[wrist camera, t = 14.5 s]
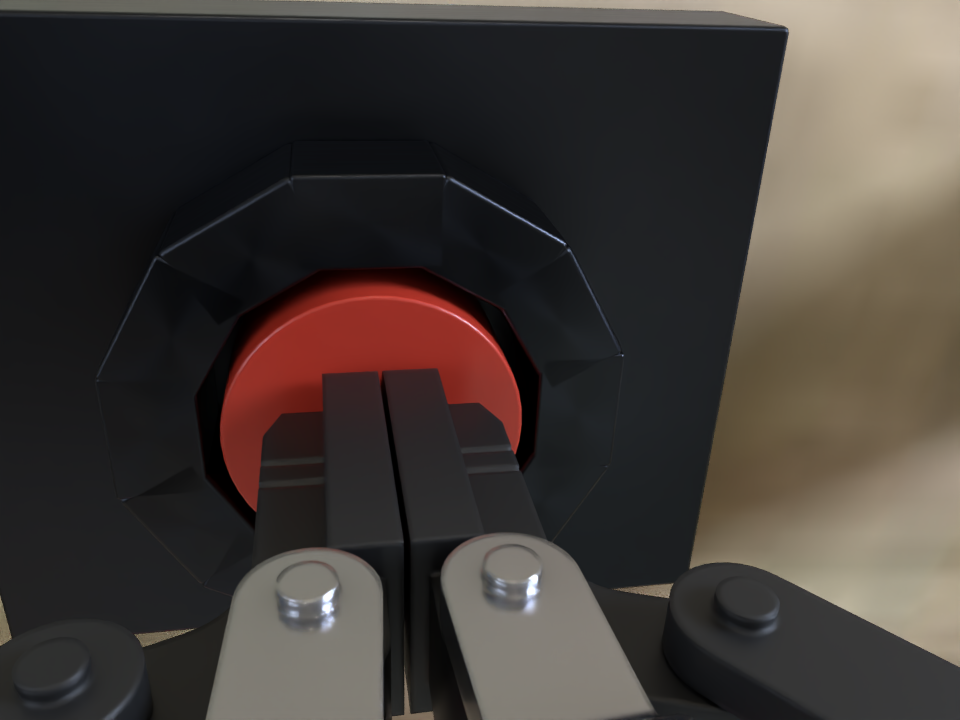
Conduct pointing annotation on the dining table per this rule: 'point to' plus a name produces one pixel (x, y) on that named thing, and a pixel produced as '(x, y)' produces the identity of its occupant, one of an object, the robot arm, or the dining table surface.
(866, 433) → the dining table surface
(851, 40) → the dining table surface
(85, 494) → the button housing
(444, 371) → the button
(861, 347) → the dining table surface
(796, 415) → the dining table surface
